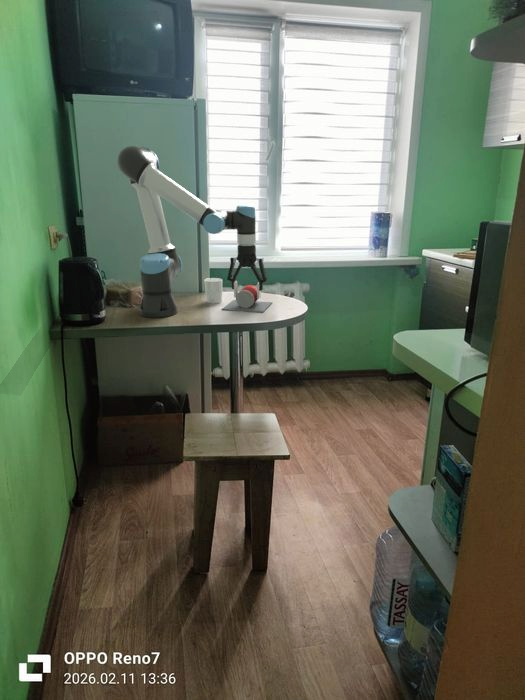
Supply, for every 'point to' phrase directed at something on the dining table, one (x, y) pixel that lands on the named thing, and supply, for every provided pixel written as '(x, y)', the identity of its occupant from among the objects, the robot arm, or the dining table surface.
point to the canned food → (247, 296)
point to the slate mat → (254, 308)
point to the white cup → (213, 290)
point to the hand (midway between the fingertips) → (247, 297)
